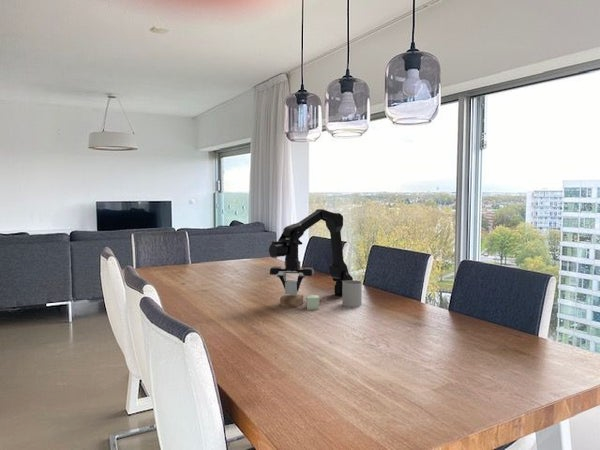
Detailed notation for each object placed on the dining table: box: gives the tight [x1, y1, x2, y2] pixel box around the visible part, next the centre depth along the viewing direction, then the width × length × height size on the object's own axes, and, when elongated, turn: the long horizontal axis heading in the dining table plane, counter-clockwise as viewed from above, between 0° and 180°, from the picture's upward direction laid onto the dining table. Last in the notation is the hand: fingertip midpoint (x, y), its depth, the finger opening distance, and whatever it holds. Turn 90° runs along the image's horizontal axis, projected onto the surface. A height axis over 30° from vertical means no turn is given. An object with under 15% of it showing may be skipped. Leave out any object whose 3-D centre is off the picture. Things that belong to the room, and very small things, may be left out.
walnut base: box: [279, 293, 304, 308], centre depth 206 cm, size 8×8×4 cm
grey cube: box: [284, 279, 300, 295], centre depth 206 cm, size 5×5×5 cm
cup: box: [341, 279, 363, 308], centre depth 206 cm, size 8×8×10 cm
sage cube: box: [306, 294, 320, 310], centre depth 201 cm, size 5×5×5 cm
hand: (291, 290), depth 206 cm, fingers closed on grey cube, 5 cm apart
